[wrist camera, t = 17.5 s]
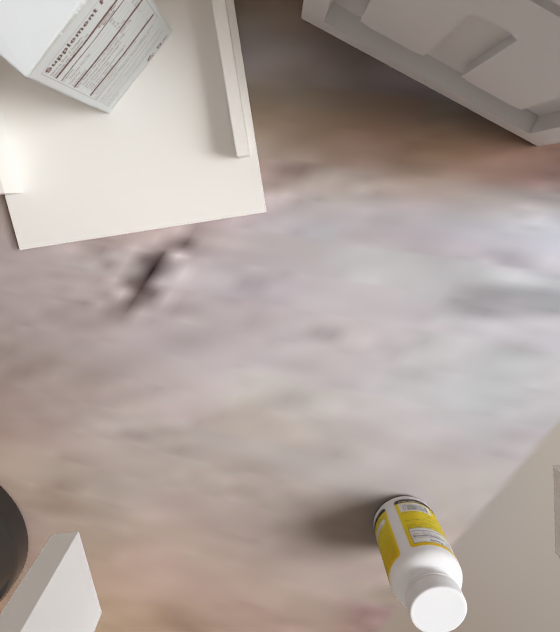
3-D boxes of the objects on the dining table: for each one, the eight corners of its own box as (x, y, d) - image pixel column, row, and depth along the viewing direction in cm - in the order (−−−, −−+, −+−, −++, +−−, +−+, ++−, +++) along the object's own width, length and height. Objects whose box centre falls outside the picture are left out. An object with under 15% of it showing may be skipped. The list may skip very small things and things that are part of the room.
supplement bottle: (391, 557, 45) (422, 655, 36) (361, 513, 44) (384, 601, 35) (445, 529, 45) (491, 620, 35) (415, 483, 44) (454, 564, 34)
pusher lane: (23, 249, 39) (-68, 270, 28) (-82, -138, 33) (-246, -289, 22) (266, 211, 38) (262, 219, 28) (204, -189, 32) (170, -367, 22)
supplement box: (23, 40, 35) (-115, -42, 22) (90, -51, 33) (-17, -192, 21) (109, 119, 36) (23, 82, 24) (177, 33, 35) (123, -52, 22)
